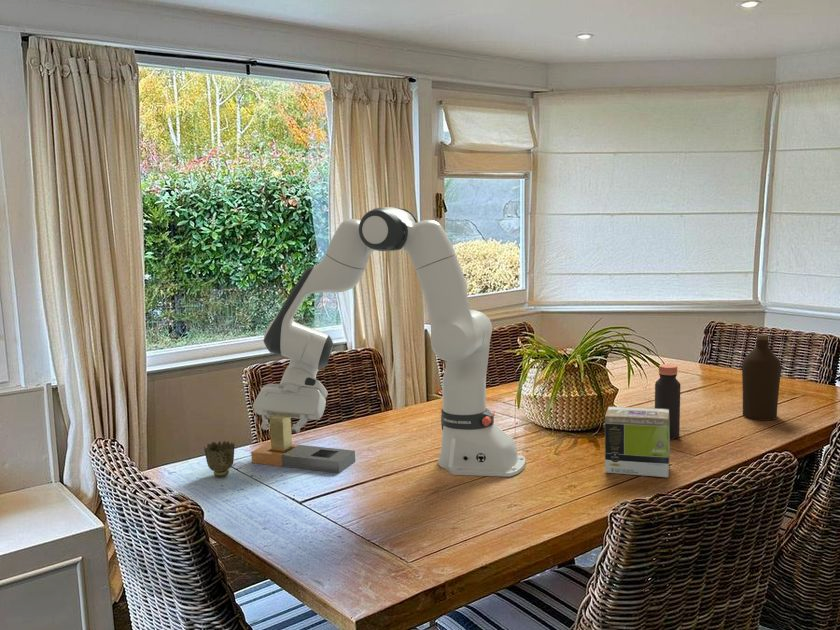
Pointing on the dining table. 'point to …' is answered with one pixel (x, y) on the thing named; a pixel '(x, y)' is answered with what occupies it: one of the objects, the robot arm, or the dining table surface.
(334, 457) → the rail
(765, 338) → the olive oil
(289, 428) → the yellow rectangular block
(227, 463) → the cup
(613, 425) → the tea box
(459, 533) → the dining table surface
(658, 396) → the bottle
